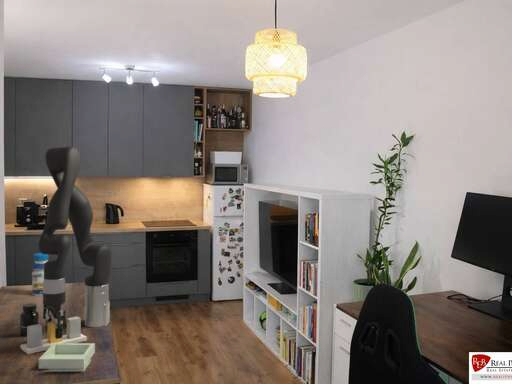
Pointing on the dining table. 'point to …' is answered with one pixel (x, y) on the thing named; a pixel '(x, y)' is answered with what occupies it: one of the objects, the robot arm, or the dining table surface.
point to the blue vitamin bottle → (38, 273)
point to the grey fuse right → (73, 327)
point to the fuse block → (47, 345)
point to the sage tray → (67, 357)
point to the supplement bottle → (28, 318)
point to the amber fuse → (51, 333)
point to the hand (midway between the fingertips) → (53, 335)
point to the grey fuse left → (34, 336)
